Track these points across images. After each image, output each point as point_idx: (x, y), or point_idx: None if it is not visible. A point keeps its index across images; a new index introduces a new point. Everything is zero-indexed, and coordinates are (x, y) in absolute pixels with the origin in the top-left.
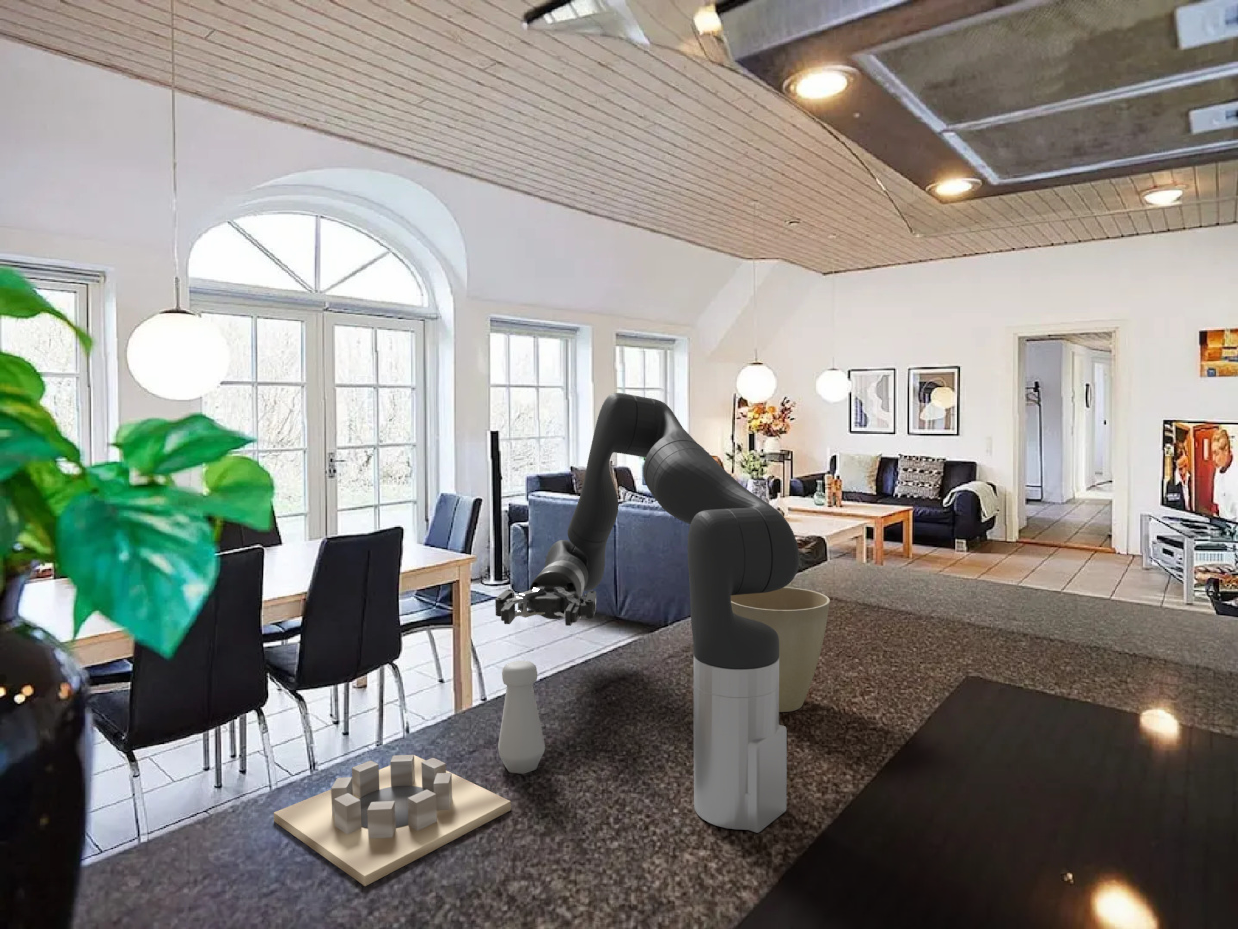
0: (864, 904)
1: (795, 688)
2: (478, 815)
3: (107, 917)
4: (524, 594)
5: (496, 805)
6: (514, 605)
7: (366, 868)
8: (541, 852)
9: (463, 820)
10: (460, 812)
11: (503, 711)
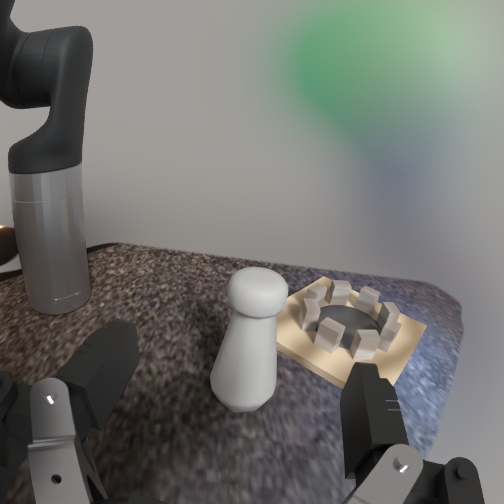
0: None
1: None
2: None
3: (424, 282)
4: (352, 502)
5: None
6: (366, 443)
7: (326, 280)
8: (217, 288)
9: None
10: (287, 314)
11: (276, 343)
